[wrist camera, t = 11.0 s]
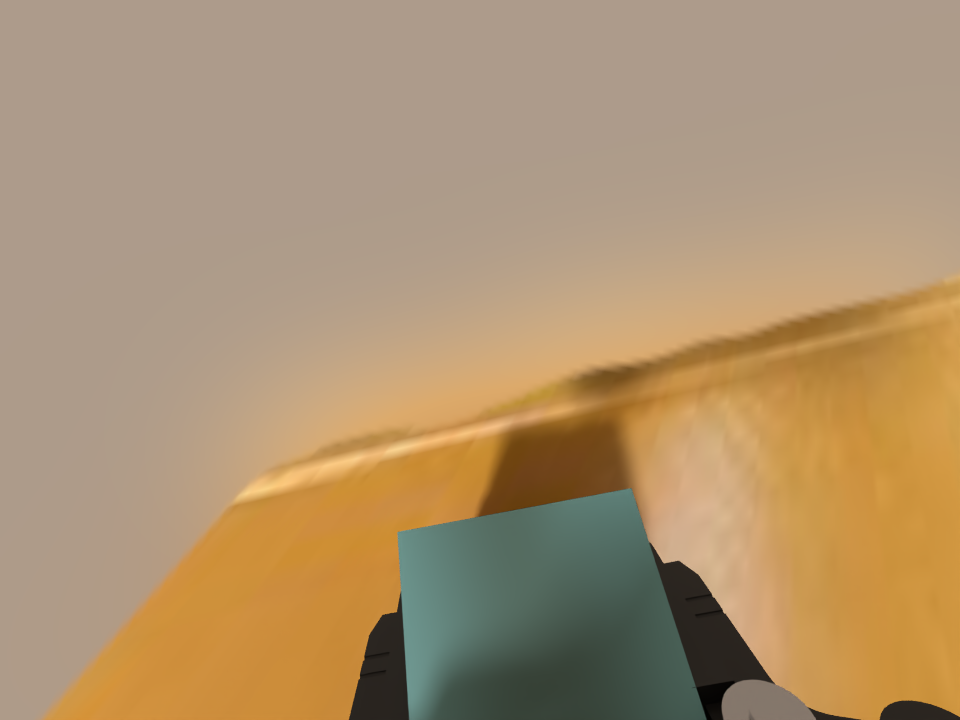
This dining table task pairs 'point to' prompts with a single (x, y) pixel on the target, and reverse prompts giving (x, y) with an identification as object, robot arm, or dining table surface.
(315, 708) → the dining table surface
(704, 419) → the dining table surface
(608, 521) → the teal block
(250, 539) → the dining table surface
